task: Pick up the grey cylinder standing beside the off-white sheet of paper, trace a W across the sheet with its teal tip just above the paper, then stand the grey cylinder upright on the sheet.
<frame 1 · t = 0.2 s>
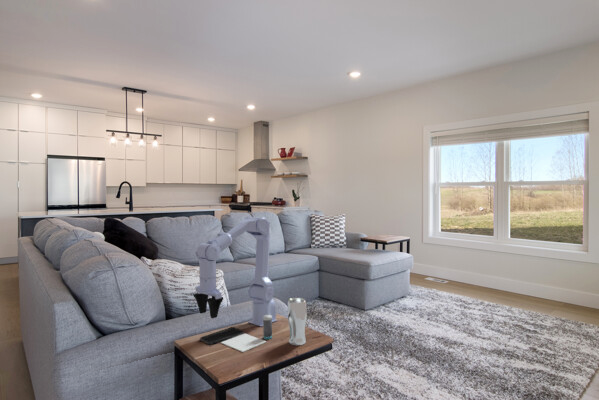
hand: (208, 315, 128), 10 cm above the table, tool pointing down, fingers open, 7 cm apart
paper: (243, 342, 128), on the table
beer glass: (297, 342, 128), on the table
phone: (222, 338, 134), on the table
grey cylinder: (267, 337, 132), on the table
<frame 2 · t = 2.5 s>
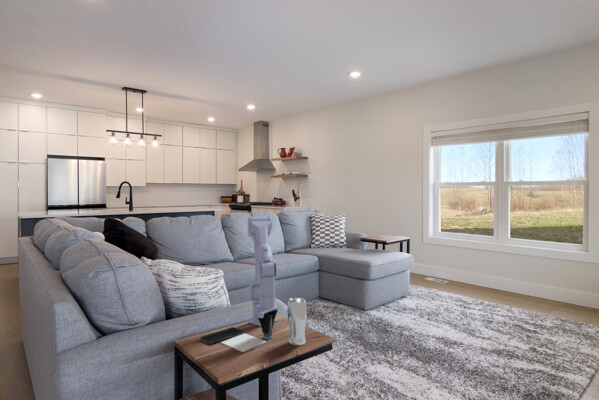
hand: (267, 331, 132), 2 cm above the table, tool pointing down, fingers closed on grey cylinder, 3 cm apart
grey cylinder: (267, 337, 132), on the table, touching gripper
everything else where it was.
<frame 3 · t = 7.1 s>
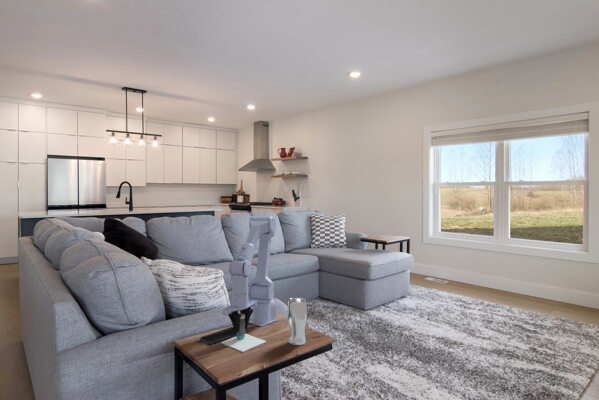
hand: (240, 330, 131), 3 cm above the table, tool pointing down, fingers closed on grey cylinder, 3 cm apart
grey cylinder: (240, 336, 131), point 1 cm above the table, touching gripper
everything else where it was.
when the fingers open (4 cm above the table, at t = 12.0 s): grey cylinder stays where it is, resting on paper.
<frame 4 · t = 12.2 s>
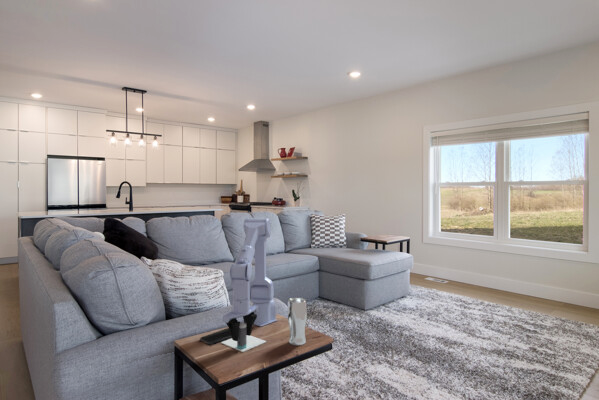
hand: (241, 337, 123), 4 cm above the table, tool pointing down, fingers open, 5 cm apart
grey cylinder: (241, 347, 123), resting on paper
everything else where it was.
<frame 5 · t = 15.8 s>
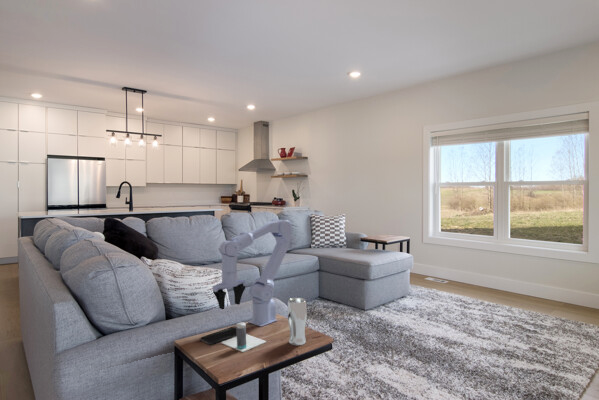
hand: (229, 306, 140), 9 cm above the table, tool pointing down, fingers open, 7 cm apart
nothing on the table moved.
at the end: grey cylinder 0.0 cm from the target spot, resting on paper; grey cylinder tilted 2°; the gripper is holding nothing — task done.
